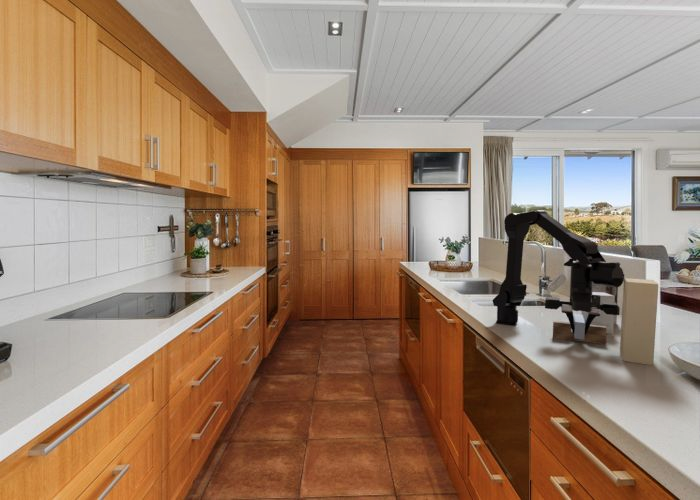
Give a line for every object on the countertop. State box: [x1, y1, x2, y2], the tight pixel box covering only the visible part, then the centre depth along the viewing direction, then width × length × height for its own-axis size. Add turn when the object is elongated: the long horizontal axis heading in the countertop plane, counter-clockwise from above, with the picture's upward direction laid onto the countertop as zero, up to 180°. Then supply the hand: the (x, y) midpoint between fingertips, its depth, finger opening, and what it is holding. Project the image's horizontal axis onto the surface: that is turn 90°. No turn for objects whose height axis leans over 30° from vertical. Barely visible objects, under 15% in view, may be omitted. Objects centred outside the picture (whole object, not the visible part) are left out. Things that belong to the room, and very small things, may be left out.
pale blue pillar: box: [573, 313, 585, 340], centre depth 117 cm, size 2×12×5 cm, turn 151°
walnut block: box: [552, 320, 607, 345], centre depth 117 cm, size 14×2×5 cm, turn 61°
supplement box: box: [580, 292, 615, 335], centre depth 128 cm, size 7×7×13 cm
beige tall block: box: [619, 277, 659, 366], centre depth 100 cm, size 8×7×21 cm
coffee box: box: [592, 283, 619, 324], centre depth 138 cm, size 9×6×16 cm
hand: (579, 333), depth 114 cm, fingers closed on pale blue pillar, 2 cm apart
